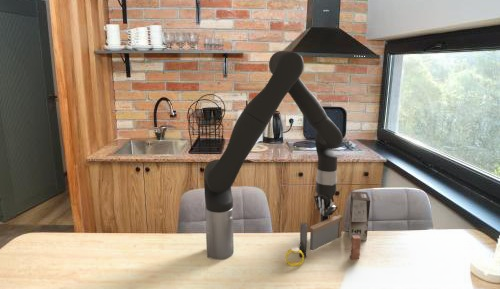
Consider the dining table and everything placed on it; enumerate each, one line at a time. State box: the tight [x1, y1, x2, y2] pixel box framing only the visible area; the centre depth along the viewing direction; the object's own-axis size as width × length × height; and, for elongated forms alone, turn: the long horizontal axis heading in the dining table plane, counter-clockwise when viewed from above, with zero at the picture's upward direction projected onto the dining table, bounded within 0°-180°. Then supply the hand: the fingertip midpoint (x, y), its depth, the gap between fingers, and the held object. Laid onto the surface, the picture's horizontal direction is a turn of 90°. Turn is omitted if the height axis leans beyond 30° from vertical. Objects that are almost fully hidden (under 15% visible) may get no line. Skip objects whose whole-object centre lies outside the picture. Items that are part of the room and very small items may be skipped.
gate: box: [308, 214, 344, 252], centre depth 124 cm, size 16×2×8 cm, turn 129°
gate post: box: [298, 222, 309, 259], centre depth 118 cm, size 2×2×12 cm
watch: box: [285, 246, 305, 267], centre depth 113 cm, size 6×3×6 cm, turn 90°
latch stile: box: [349, 235, 362, 261], centre depth 117 cm, size 2×2×8 cm
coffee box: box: [347, 191, 371, 241], centre depth 132 cm, size 9×6×16 cm
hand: (324, 223), depth 132 cm, fingers closed
